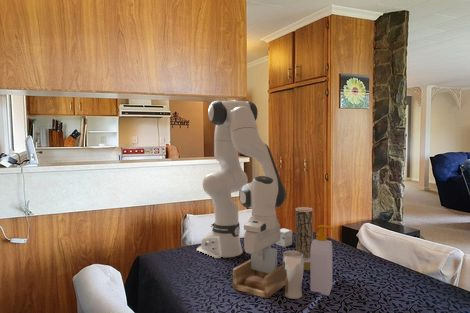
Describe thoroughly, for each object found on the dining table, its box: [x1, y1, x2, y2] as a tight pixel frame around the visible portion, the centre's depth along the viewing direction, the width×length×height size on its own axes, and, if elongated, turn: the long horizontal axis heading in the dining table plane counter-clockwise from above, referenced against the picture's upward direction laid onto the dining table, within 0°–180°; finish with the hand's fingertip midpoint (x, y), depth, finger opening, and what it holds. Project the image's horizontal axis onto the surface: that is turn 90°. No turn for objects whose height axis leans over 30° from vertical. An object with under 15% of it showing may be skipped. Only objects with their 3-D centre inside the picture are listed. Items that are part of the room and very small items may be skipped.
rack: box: [232, 258, 285, 299], centre depth 123 cm, size 14×14×8 cm
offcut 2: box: [244, 282, 264, 291], centre depth 122 cm, size 9×4×2 cm, turn 55°
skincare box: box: [275, 228, 293, 248], centre depth 173 cm, size 6×6×7 cm
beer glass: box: [282, 250, 305, 300], centre depth 116 cm, size 7×7×15 cm
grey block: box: [250, 247, 278, 274], centre depth 126 cm, size 10×2×9 cm, turn 55°
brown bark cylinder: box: [295, 206, 314, 271], centre depth 140 cm, size 7×7×25 cm
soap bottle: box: [309, 224, 333, 296], centre depth 121 cm, size 9×7×23 cm
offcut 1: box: [245, 275, 264, 288], centre depth 121 cm, size 8×4×2 cm, turn 59°
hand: (263, 258), depth 126 cm, fingers closed on grey block, 2 cm apart
